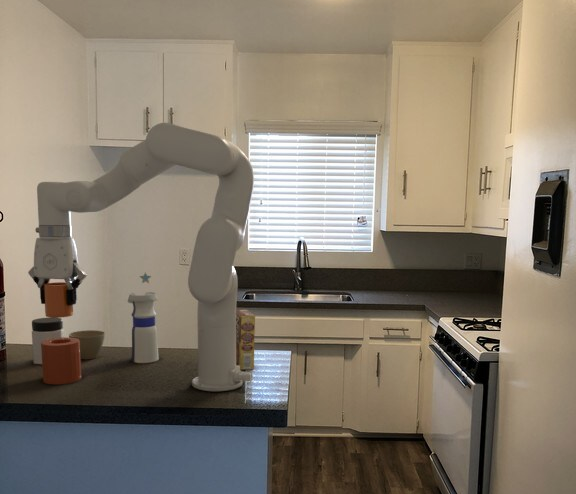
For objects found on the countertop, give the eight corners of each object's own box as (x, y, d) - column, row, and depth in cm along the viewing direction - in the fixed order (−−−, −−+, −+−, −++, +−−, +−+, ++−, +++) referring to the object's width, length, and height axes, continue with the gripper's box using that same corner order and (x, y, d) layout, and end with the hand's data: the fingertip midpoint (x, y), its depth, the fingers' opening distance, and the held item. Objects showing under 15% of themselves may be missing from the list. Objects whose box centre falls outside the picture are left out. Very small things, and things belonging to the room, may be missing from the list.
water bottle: (126, 358, 183) (123, 273, 179) (154, 354, 187) (152, 271, 183) (133, 364, 176) (130, 276, 172) (163, 361, 180) (160, 274, 176)
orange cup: (77, 313, 161) (76, 282, 159) (63, 318, 154) (61, 286, 153) (55, 312, 162) (54, 281, 161) (40, 316, 156) (38, 285, 155)
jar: (58, 356, 184) (56, 316, 182) (70, 361, 179) (68, 320, 177) (28, 361, 178) (25, 319, 176) (39, 366, 173) (36, 324, 171)
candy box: (255, 369, 172) (255, 314, 169) (240, 370, 170) (239, 315, 168) (248, 361, 180) (248, 309, 178) (233, 362, 179) (233, 309, 176)
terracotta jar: (88, 375, 164) (86, 338, 162) (68, 385, 155) (66, 346, 154) (57, 373, 166) (55, 336, 165) (35, 382, 157) (33, 344, 156)
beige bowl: (95, 362, 177) (94, 337, 176) (63, 360, 179) (61, 336, 178) (111, 354, 187) (110, 330, 186) (81, 352, 189) (80, 329, 188)
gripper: (15, 232, 153) (19, 304, 156) (78, 234, 149) (81, 308, 152) (34, 231, 160) (37, 299, 163) (95, 232, 156) (97, 303, 159)
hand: (58, 303), depth 158 cm, fingers closed on orange cup, 6 cm apart
